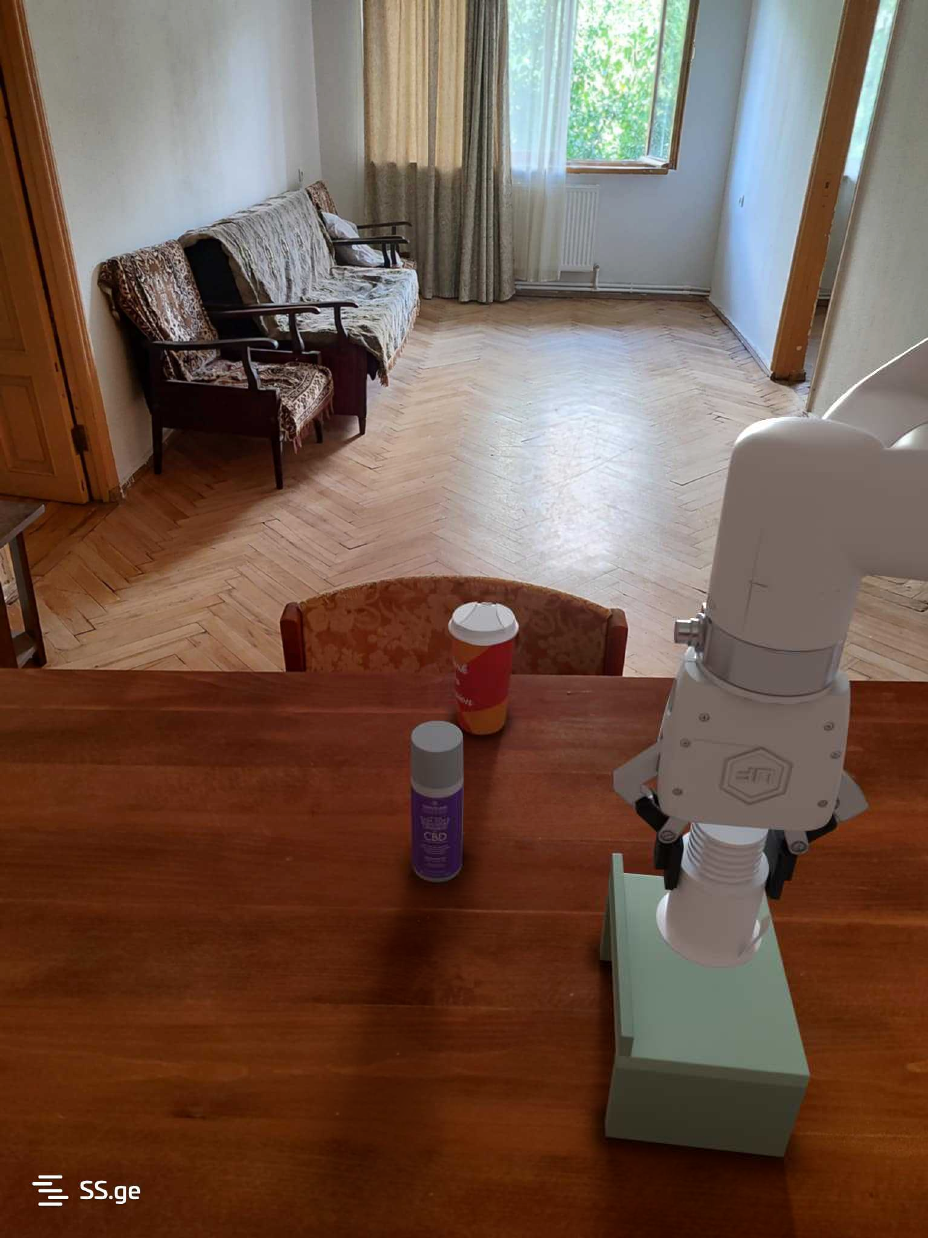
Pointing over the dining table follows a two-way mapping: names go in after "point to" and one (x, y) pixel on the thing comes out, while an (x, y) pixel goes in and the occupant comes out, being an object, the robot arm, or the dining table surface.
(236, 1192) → the dining table surface
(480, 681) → the paper cup
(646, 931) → the green ledge block
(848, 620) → the robot arm
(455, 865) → the container
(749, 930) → the downlight
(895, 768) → the dining table surface
